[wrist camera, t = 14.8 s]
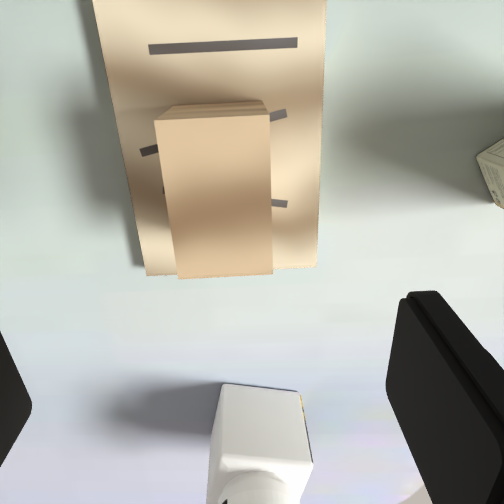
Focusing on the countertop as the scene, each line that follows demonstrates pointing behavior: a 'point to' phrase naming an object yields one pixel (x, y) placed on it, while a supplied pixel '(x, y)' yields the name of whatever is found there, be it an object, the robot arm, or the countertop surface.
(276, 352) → the countertop surface
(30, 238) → the countertop surface
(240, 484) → the medicine bottle
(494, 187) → the skincare box
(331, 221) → the countertop surface
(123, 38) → the board
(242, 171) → the block
